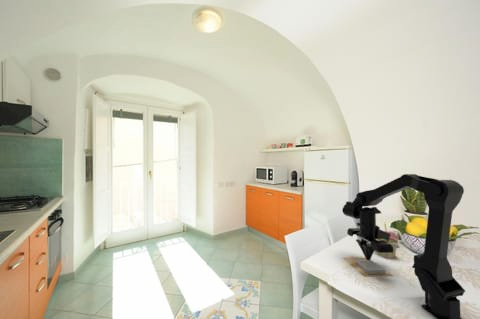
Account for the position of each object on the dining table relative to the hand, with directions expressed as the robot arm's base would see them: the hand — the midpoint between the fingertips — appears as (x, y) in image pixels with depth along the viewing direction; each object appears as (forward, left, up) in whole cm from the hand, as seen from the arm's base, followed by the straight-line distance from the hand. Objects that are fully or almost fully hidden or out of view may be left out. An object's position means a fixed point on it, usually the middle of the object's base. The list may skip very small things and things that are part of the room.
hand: (368, 259), depth 76 cm
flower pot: (+10, -17, -5) cm, 20 cm away
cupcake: (+23, -30, -5) cm, 38 cm away
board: (+1, 0, -4) cm, 5 cm away
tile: (+3, 0, -3) cm, 3 cm away
